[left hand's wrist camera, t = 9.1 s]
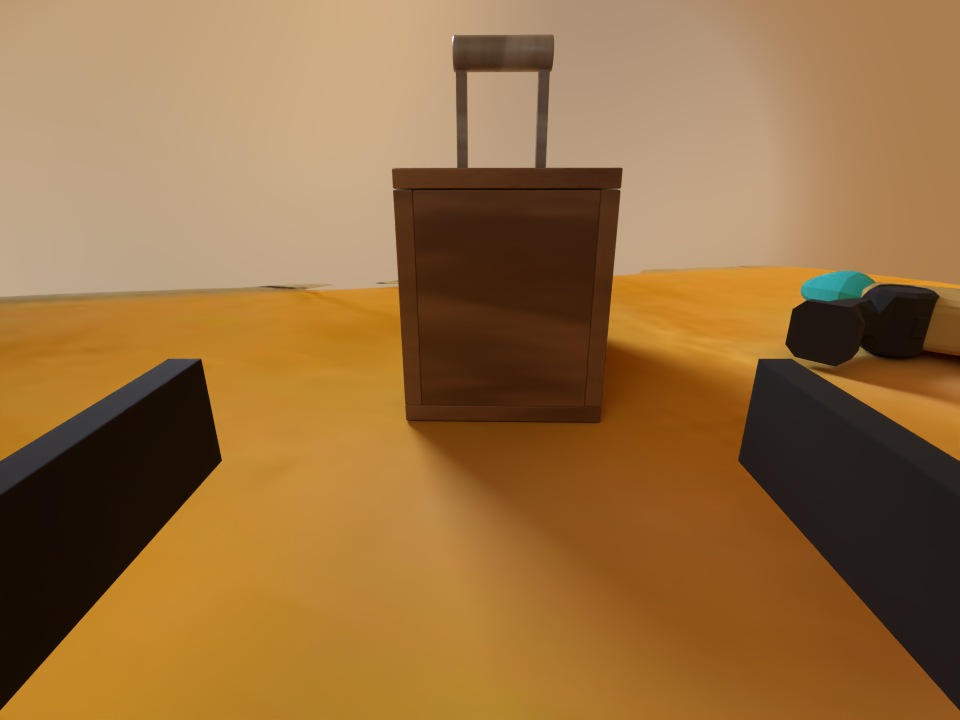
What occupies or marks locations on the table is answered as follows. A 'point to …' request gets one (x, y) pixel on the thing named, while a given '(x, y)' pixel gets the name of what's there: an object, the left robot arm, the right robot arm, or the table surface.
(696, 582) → the table surface
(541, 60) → the lid
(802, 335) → the toy gun
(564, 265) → the chest
